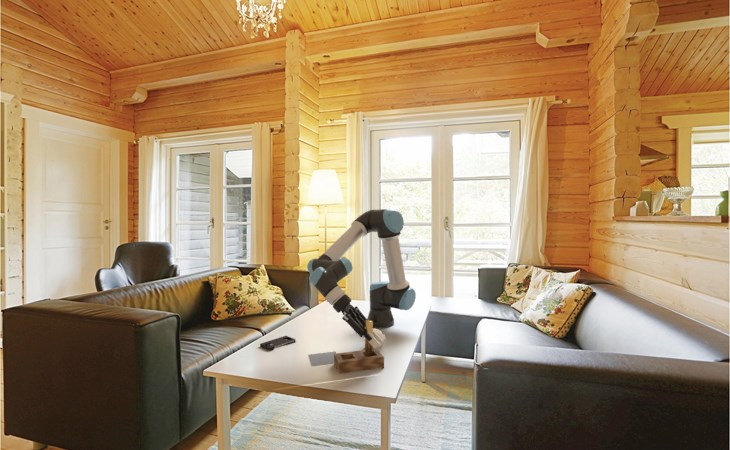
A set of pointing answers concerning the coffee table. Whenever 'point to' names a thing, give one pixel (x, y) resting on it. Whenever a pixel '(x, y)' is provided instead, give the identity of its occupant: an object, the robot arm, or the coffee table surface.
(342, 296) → the robot arm
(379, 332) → the beige faceted ovoid
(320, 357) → the slate rubber mat
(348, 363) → the walnut hole block
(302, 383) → the coffee table surface
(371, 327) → the brass peg
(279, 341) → the vhs tape
